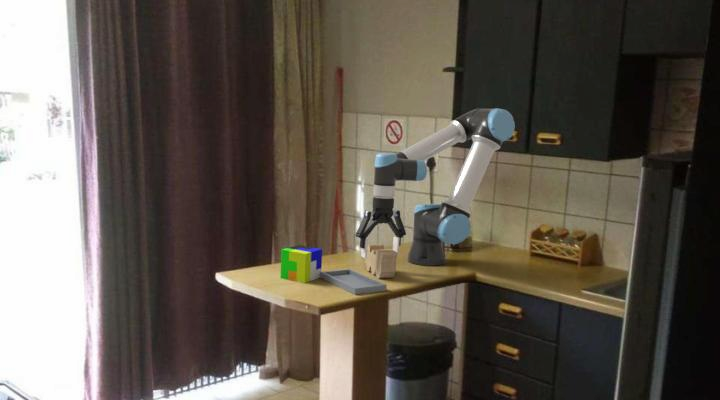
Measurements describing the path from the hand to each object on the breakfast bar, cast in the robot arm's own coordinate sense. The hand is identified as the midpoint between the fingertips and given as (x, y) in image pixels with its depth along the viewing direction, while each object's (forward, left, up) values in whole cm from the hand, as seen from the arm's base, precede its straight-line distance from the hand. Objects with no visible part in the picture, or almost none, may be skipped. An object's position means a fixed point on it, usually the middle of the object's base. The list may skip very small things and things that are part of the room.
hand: (379, 256), depth 227 cm
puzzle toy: (+28, -7, -7) cm, 29 cm away
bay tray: (+16, +7, -7) cm, 18 cm away
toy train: (0, 0, -7) cm, 7 cm away
